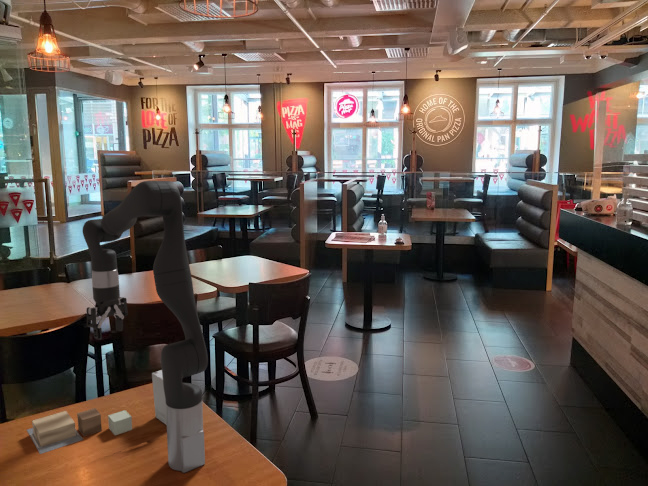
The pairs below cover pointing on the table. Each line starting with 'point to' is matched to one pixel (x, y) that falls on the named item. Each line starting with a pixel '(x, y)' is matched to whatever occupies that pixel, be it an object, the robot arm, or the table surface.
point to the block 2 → (120, 422)
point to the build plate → (54, 445)
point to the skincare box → (159, 396)
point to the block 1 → (89, 422)
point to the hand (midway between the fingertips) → (109, 334)
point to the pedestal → (53, 428)
